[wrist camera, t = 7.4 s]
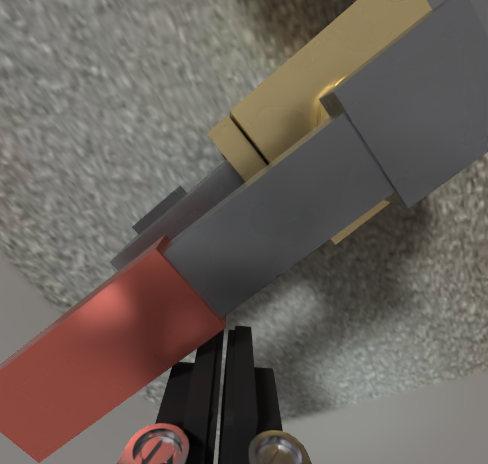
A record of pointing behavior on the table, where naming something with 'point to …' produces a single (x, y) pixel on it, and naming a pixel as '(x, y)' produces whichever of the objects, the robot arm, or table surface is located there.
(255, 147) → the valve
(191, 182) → the table surface
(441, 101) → the lever
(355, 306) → the table surface
